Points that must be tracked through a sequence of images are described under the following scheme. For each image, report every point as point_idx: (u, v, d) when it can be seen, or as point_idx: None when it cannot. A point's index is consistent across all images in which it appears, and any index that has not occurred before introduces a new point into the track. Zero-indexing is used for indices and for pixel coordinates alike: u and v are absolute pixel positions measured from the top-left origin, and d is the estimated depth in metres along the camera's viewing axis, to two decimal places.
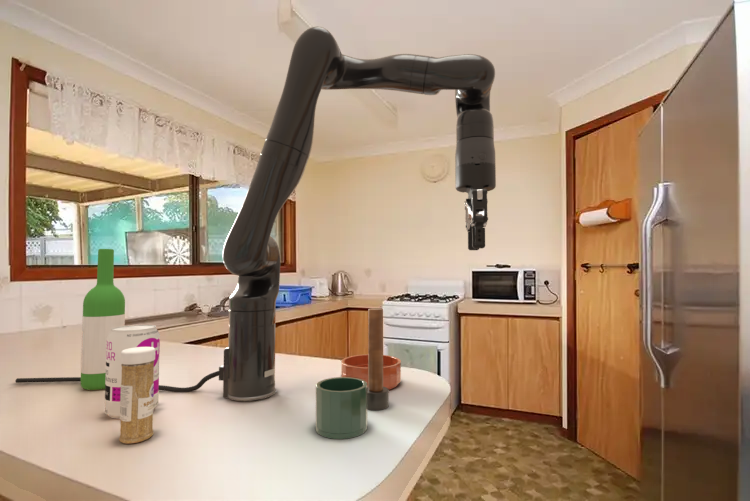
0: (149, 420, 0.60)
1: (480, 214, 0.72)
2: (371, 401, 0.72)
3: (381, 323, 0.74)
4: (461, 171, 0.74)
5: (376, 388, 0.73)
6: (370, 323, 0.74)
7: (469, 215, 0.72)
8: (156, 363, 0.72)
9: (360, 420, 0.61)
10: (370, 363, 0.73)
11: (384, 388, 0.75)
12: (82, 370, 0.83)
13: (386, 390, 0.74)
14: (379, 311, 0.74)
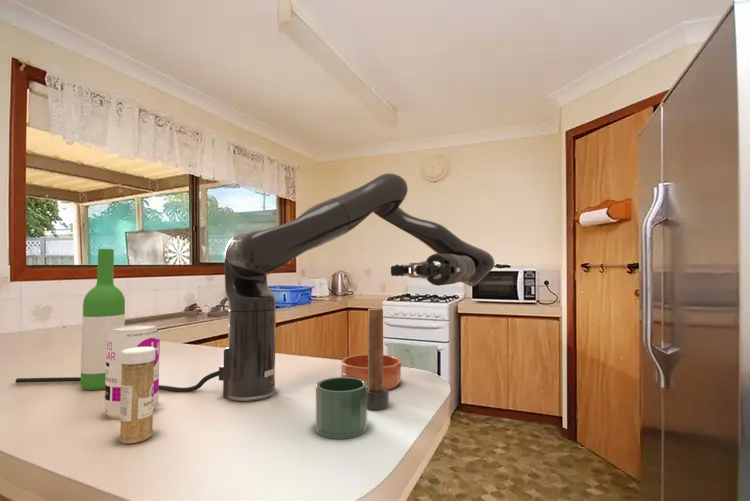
0: (149, 420, 0.60)
1: None
2: (371, 401, 0.72)
3: (381, 323, 0.74)
4: (451, 257, 0.93)
5: (376, 388, 0.73)
6: (370, 323, 0.74)
7: (438, 263, 0.86)
8: (156, 363, 0.72)
9: (360, 420, 0.61)
10: (370, 363, 0.73)
11: (384, 388, 0.75)
12: (82, 370, 0.83)
13: (386, 390, 0.74)
14: (379, 311, 0.74)
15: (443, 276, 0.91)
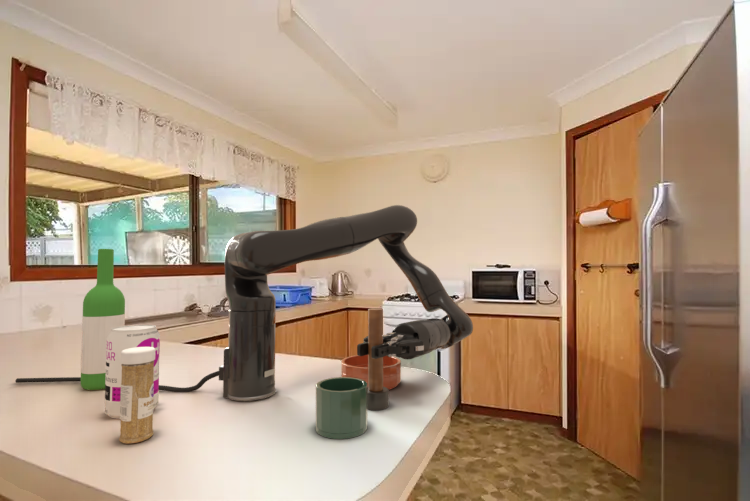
0: (149, 420, 0.60)
1: None
2: (371, 401, 0.72)
3: (381, 323, 0.74)
4: (422, 327, 0.83)
5: (376, 388, 0.73)
6: (370, 323, 0.74)
7: (394, 339, 0.76)
8: (156, 363, 0.72)
9: (360, 420, 0.61)
10: (370, 363, 0.73)
11: (384, 388, 0.75)
12: (82, 370, 0.83)
13: (386, 390, 0.74)
14: (379, 311, 0.74)
15: None
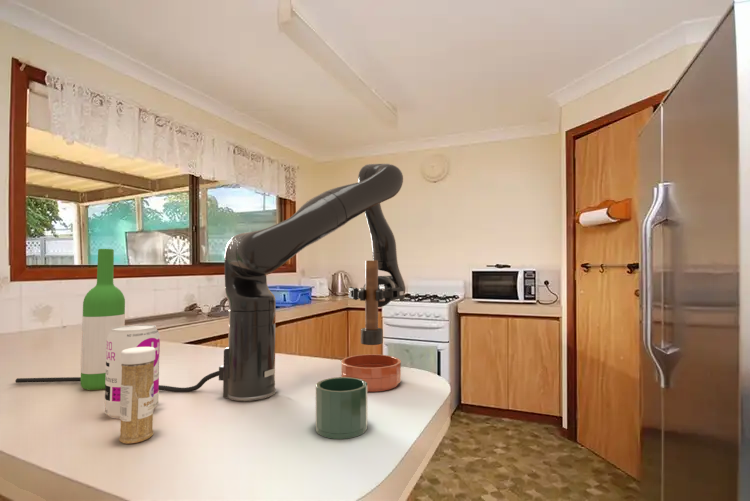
0: (149, 420, 0.60)
1: None
2: (373, 337, 0.84)
3: (377, 272, 0.87)
4: (389, 280, 0.99)
5: (375, 327, 0.85)
6: (370, 272, 0.86)
7: (382, 287, 0.90)
8: (156, 363, 0.72)
9: (360, 420, 0.61)
10: (370, 306, 0.85)
11: None
12: (82, 370, 0.83)
13: (380, 328, 0.87)
14: (377, 262, 0.86)
15: (385, 298, 0.96)
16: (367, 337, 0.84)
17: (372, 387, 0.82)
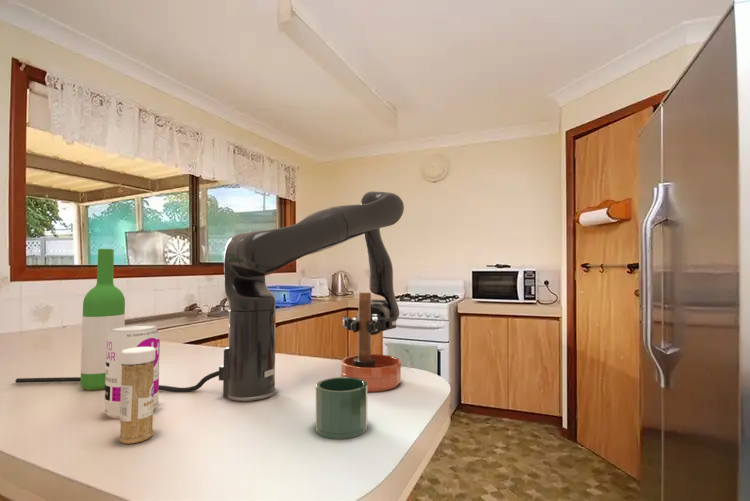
0: (149, 420, 0.60)
1: None
2: None
3: (370, 304, 0.90)
4: (382, 308, 1.02)
5: (367, 358, 0.88)
6: (362, 304, 0.88)
7: (375, 317, 0.93)
8: (156, 363, 0.72)
9: (360, 420, 0.61)
10: (362, 337, 0.88)
11: None
12: (82, 370, 0.83)
13: (373, 359, 0.90)
14: (369, 294, 0.89)
15: None
16: None
17: (372, 387, 0.82)
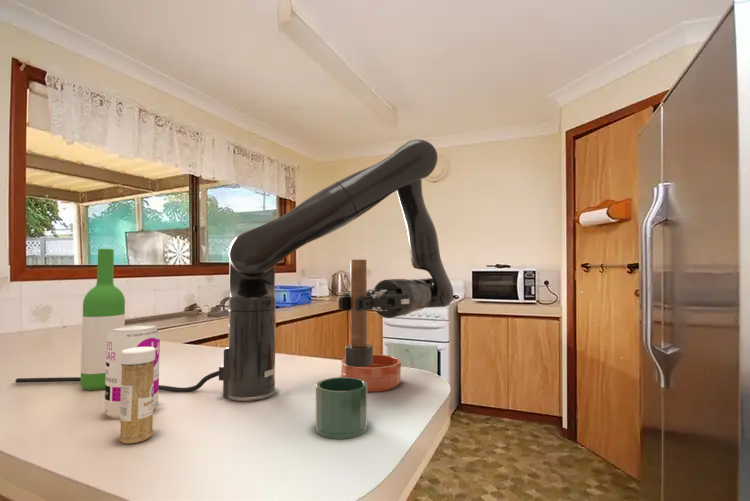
0: (149, 420, 0.60)
1: None
2: (355, 357, 0.66)
3: (365, 274, 0.69)
4: (404, 284, 0.79)
5: (360, 344, 0.67)
6: (353, 274, 0.68)
7: (378, 293, 0.71)
8: (156, 363, 0.72)
9: (360, 420, 0.61)
10: (353, 317, 0.68)
11: (368, 345, 0.69)
12: (82, 370, 0.83)
13: (370, 346, 0.68)
14: (363, 261, 0.68)
15: None
16: (348, 357, 0.67)
17: (372, 387, 0.82)
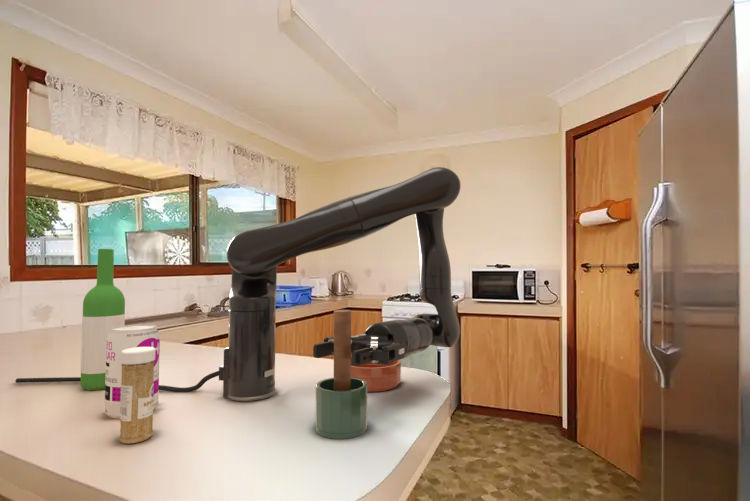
0: (149, 420, 0.60)
1: None
2: None
3: (348, 327, 0.64)
4: (398, 328, 0.73)
5: None
6: (336, 327, 0.63)
7: (375, 342, 0.65)
8: (156, 363, 0.72)
9: (360, 420, 0.61)
10: (335, 374, 0.63)
11: None
12: (82, 370, 0.83)
13: None
14: (346, 313, 0.63)
15: None
16: None
17: (372, 387, 0.82)
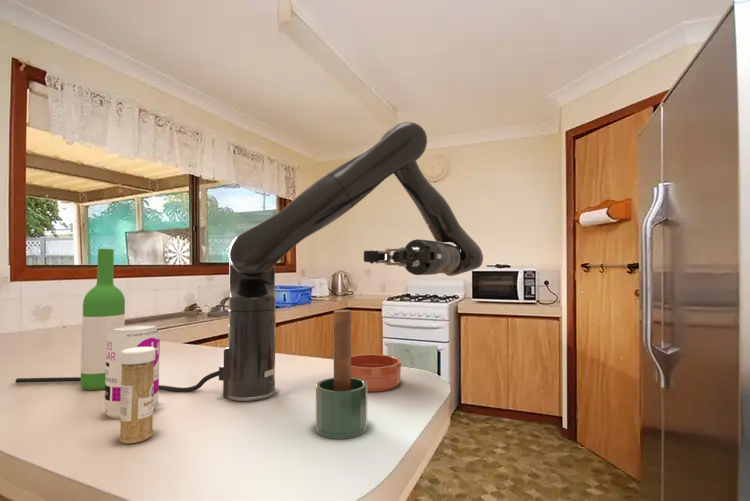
0: (149, 420, 0.60)
1: None
2: None
3: (348, 327, 0.64)
4: (433, 244, 0.84)
5: None
6: (336, 327, 0.63)
7: (417, 248, 0.76)
8: (156, 363, 0.72)
9: (360, 420, 0.61)
10: (335, 374, 0.63)
11: None
12: (82, 370, 0.83)
13: None
14: (346, 313, 0.63)
15: (423, 264, 0.81)
16: None
17: (372, 387, 0.82)
